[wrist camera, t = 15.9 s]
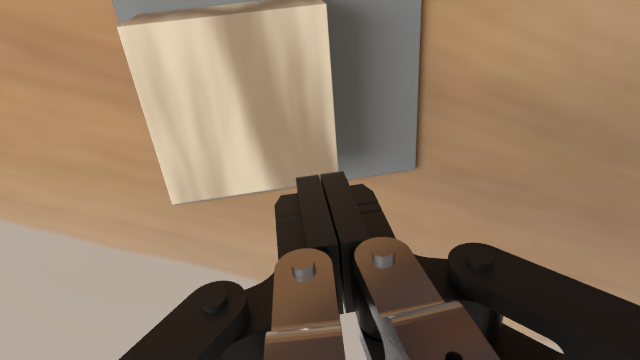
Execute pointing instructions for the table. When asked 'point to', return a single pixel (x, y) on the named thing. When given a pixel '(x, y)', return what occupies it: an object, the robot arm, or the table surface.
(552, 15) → the table surface
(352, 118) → the mat
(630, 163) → the table surface
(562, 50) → the table surface
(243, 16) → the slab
